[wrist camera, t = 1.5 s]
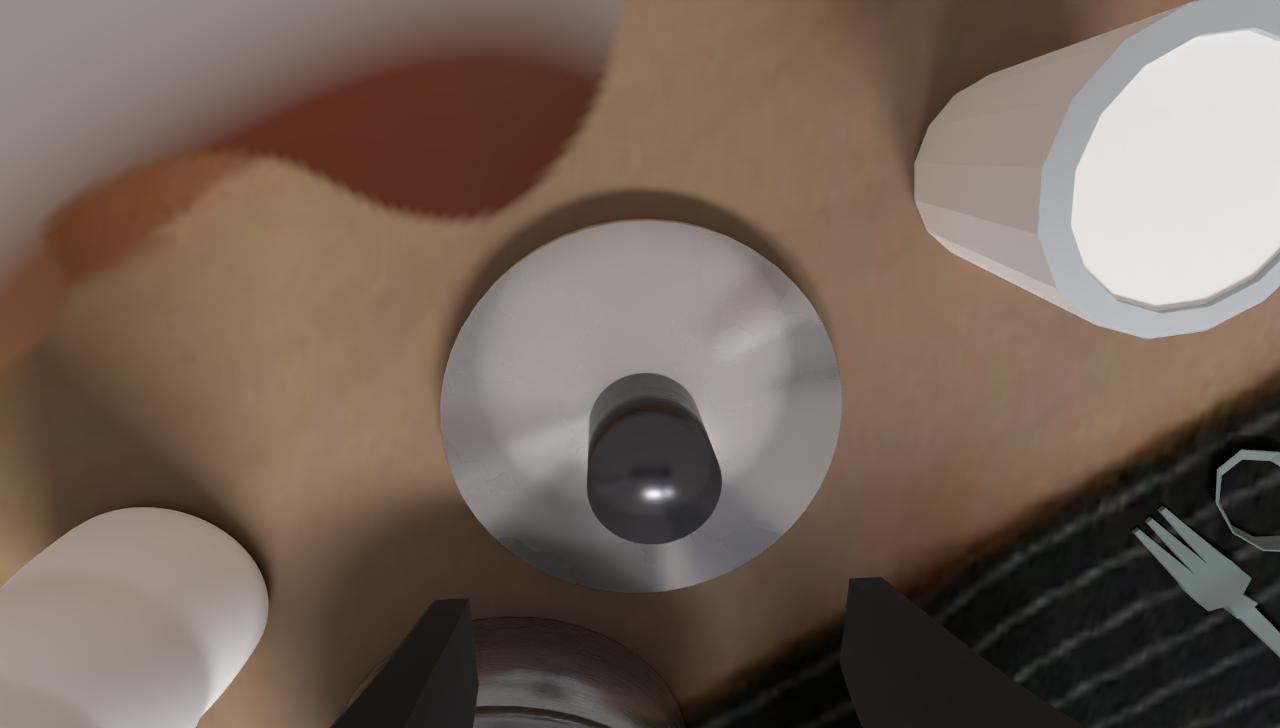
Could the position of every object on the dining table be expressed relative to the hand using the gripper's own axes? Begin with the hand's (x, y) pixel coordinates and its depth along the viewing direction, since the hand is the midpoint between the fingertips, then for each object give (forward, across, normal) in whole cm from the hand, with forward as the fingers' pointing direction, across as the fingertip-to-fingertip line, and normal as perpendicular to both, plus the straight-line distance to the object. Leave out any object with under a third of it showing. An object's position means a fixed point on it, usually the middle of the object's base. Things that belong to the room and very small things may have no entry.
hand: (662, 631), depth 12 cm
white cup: (+10, -12, -8) cm, 17 cm away
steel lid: (+10, 0, 0) cm, 11 cm away
